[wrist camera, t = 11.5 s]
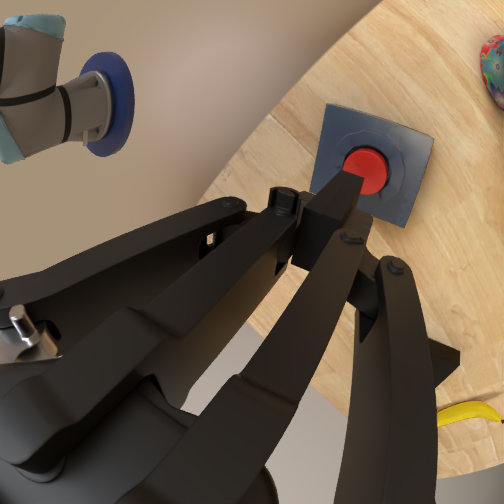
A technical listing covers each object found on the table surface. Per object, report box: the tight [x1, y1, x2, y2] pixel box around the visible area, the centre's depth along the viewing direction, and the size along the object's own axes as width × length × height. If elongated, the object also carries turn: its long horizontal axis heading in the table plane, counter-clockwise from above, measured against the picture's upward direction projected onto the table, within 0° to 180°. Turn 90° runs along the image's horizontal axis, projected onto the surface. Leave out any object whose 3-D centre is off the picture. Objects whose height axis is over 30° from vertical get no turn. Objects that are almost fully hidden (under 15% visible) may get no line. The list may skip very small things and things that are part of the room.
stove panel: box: [428, 338, 460, 388], centre depth 31 cm, size 12×11×3 cm
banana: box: [437, 401, 504, 428], centre depth 28 cm, size 3×19×6 cm, turn 135°
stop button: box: [343, 148, 388, 195], centre depth 20 cm, size 4×4×2 cm
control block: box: [309, 103, 434, 228], centre depth 22 cm, size 10×9×4 cm
